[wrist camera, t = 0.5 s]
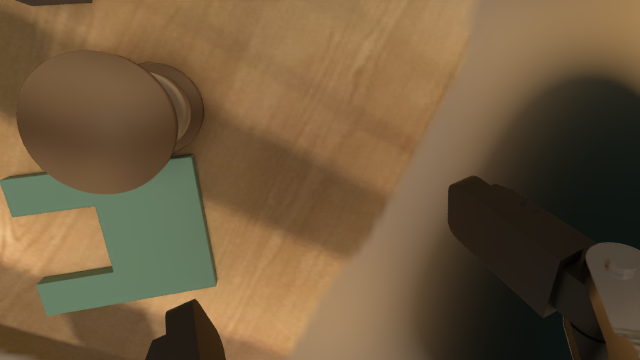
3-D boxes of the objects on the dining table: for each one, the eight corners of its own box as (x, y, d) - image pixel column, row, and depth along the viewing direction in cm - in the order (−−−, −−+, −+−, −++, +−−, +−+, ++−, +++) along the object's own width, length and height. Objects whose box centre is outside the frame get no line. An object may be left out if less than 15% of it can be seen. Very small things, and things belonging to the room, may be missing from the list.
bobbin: (100, 67, 28) (-6, 56, 16) (195, 59, 29) (158, 44, 17) (122, 156, 29) (42, 203, 18) (210, 146, 30) (186, 184, 19)
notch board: (9, 176, 28) (-1, 180, 27) (193, 154, 30) (191, 157, 29) (54, 307, 32) (46, 316, 30) (217, 279, 34) (216, 286, 33)
